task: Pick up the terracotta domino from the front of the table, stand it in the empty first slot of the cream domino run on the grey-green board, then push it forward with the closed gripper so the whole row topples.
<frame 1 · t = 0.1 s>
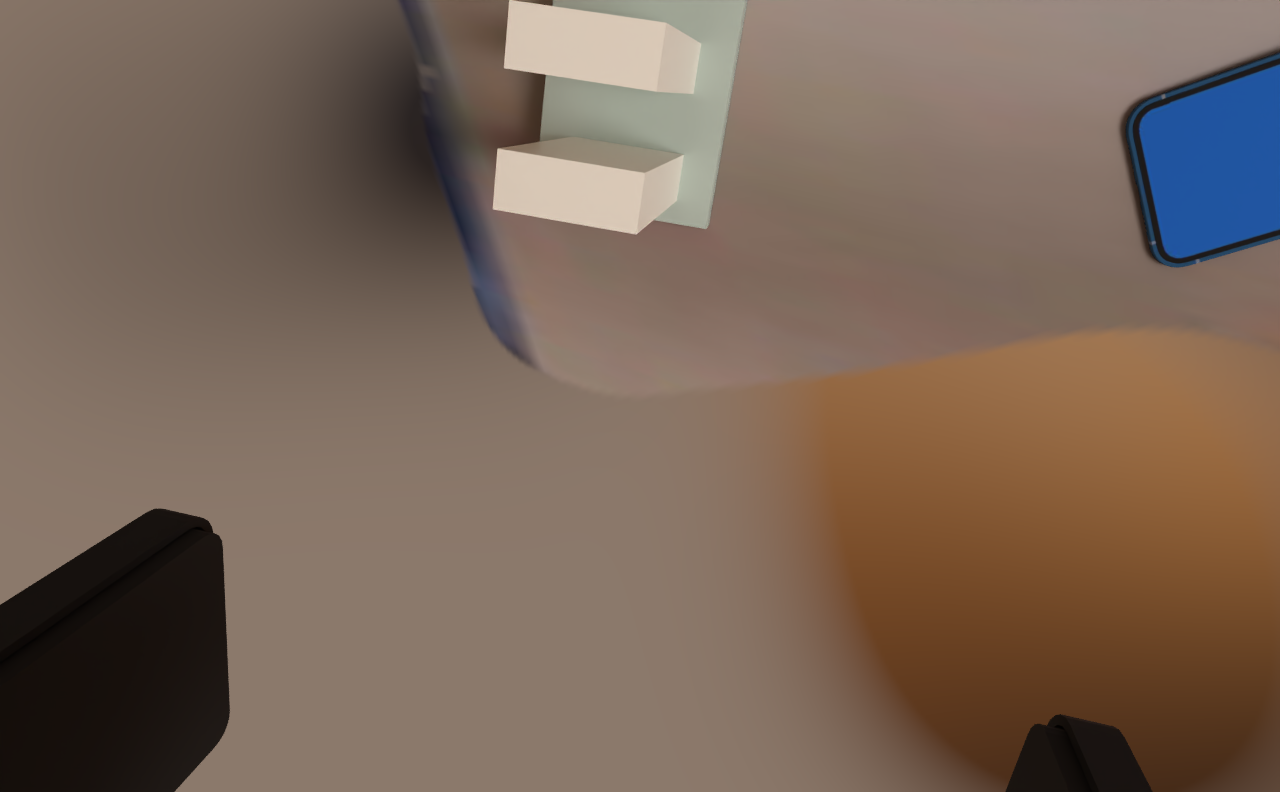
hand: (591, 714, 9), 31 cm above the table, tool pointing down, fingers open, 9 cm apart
domino 4: (639, 60, 35), point 1 cm above the table, touching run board
domino 5: (625, 168, 37), point 1 cm above the table, touching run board
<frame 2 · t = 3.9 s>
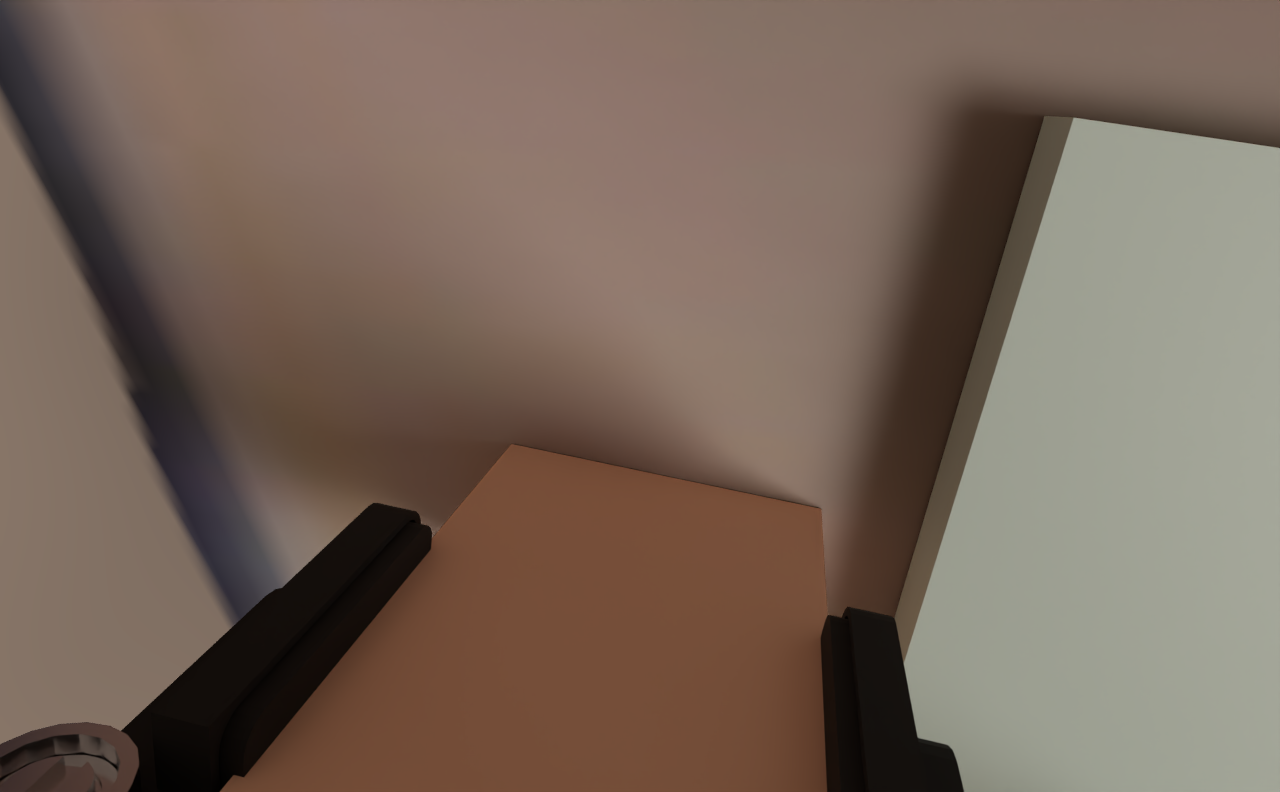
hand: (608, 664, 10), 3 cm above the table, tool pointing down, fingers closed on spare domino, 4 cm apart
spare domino: (653, 530, 14), on the table, touching gripper
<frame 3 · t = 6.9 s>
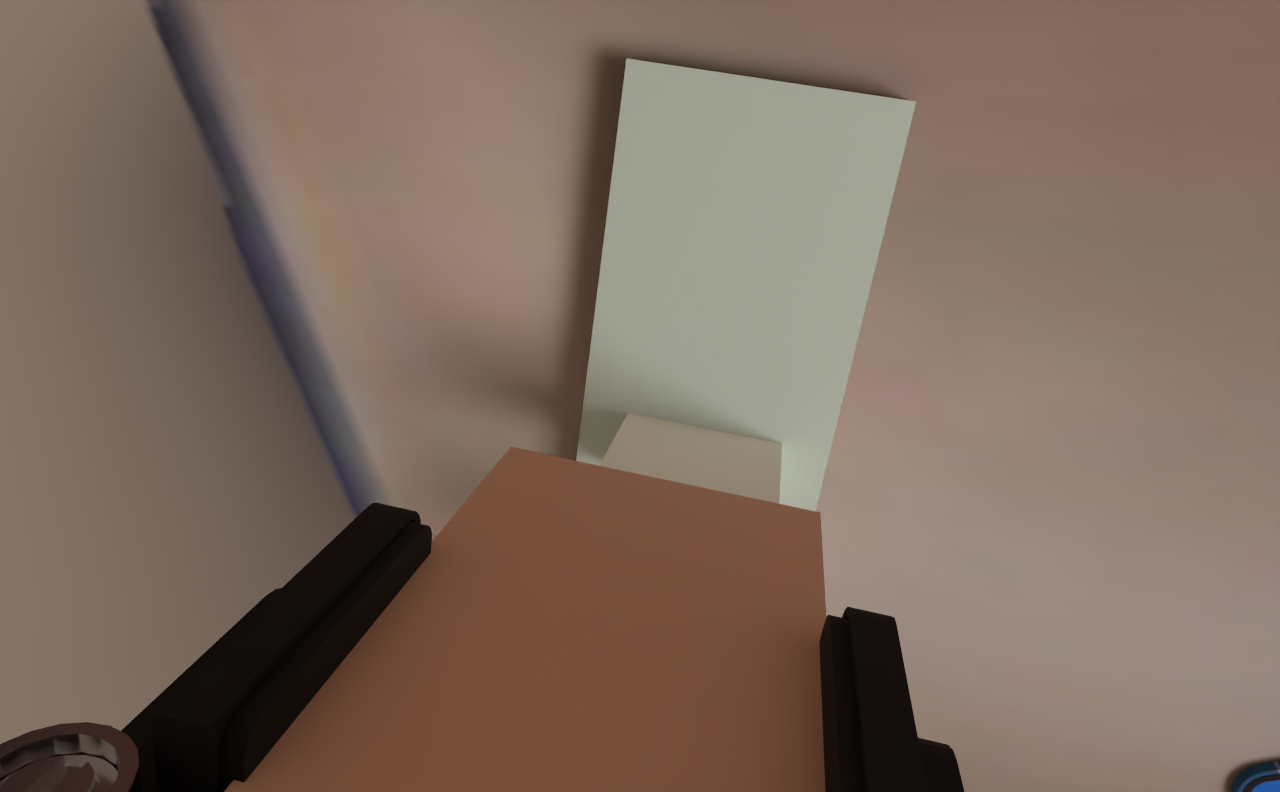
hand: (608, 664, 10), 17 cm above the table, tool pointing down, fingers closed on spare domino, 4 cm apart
domino 2: (699, 456, 27), point 1 cm above the table, touching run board
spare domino: (652, 533, 14), point 14 cm above the table, touching gripper
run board: (693, 494, 29), on the table
when the fingers open (6 cm above the table, at t = 9.8 s): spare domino drops 1 cm, resting on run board.
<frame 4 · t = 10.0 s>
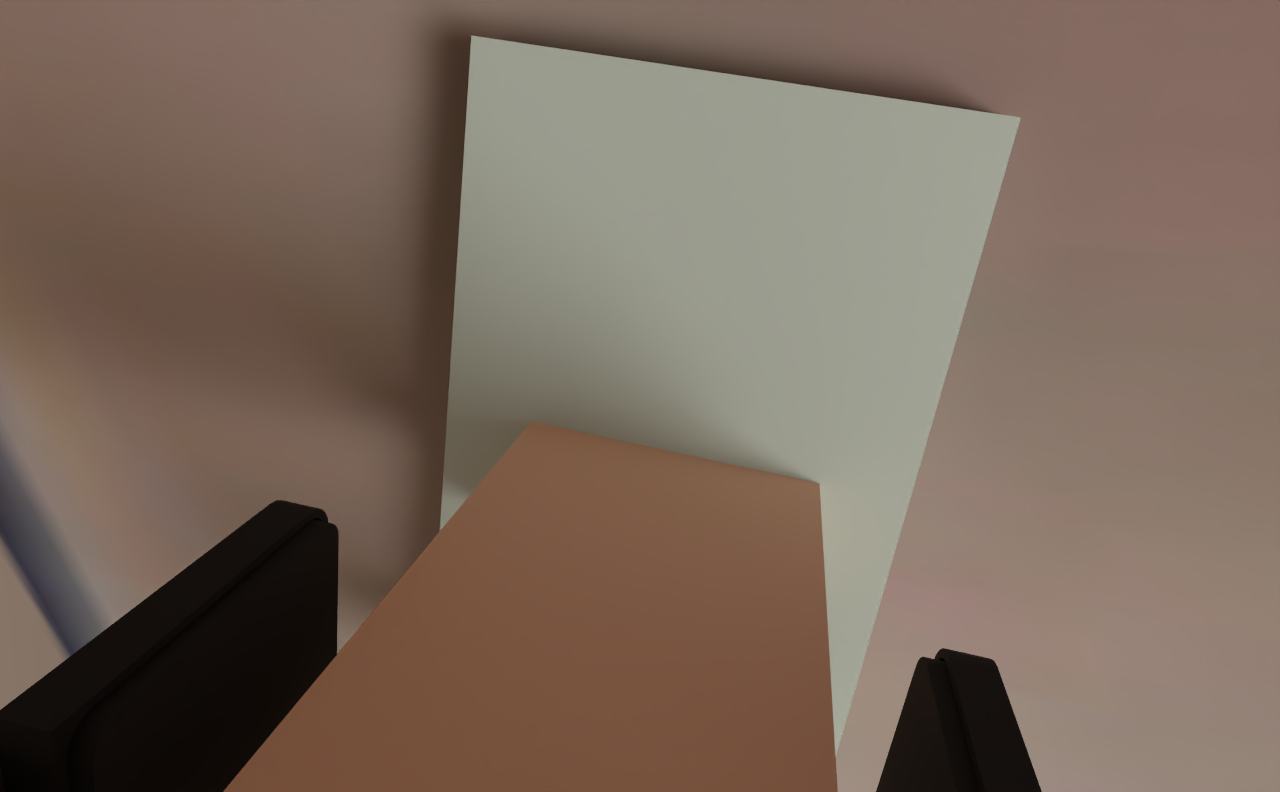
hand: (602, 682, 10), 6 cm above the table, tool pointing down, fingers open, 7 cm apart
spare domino: (663, 503, 14), point 1 cm above the table, touching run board
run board: (625, 743, 18), on the table
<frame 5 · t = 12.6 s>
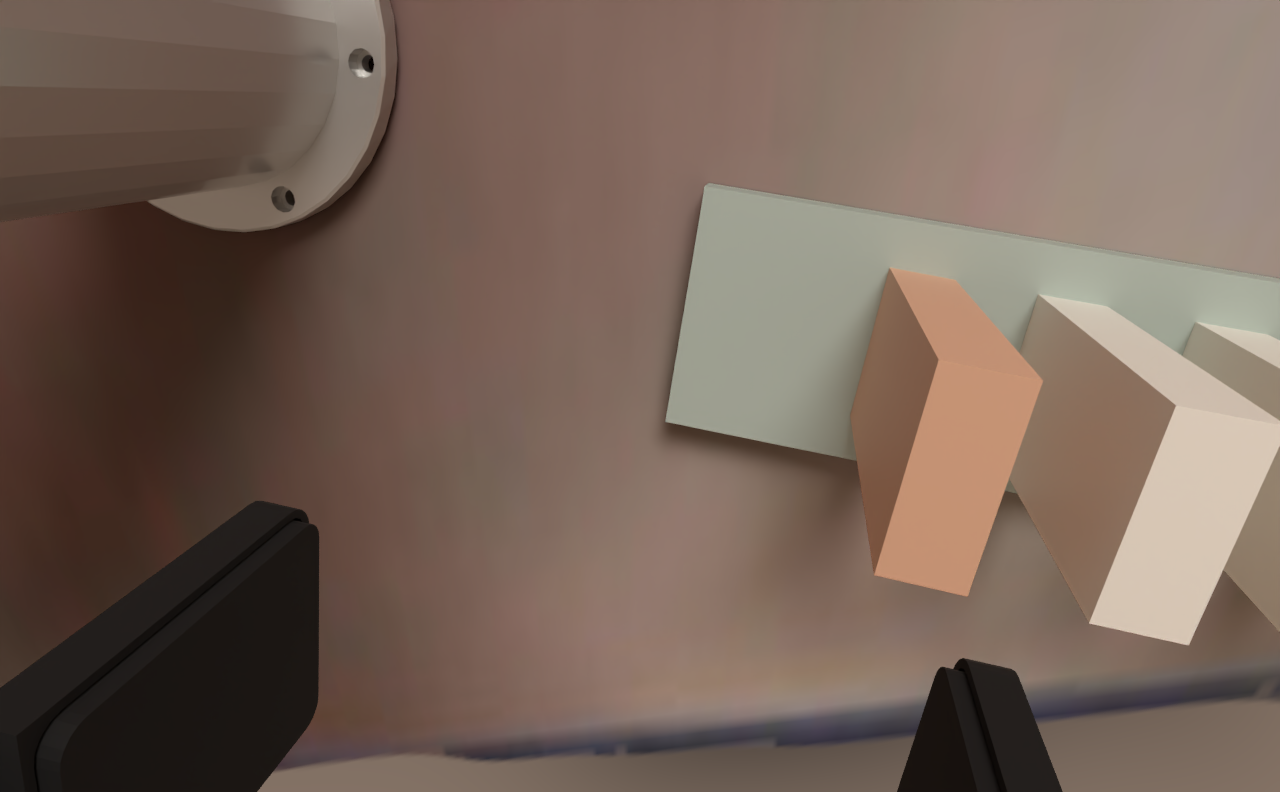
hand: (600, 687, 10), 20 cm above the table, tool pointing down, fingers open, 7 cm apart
domino 3: (1199, 406, 25), point 1 cm above the table, touching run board
domino 2: (1046, 377, 26), point 1 cm above the table, touching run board
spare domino: (900, 350, 26), point 1 cm above the table, touching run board
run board: (1100, 378, 27), on the table
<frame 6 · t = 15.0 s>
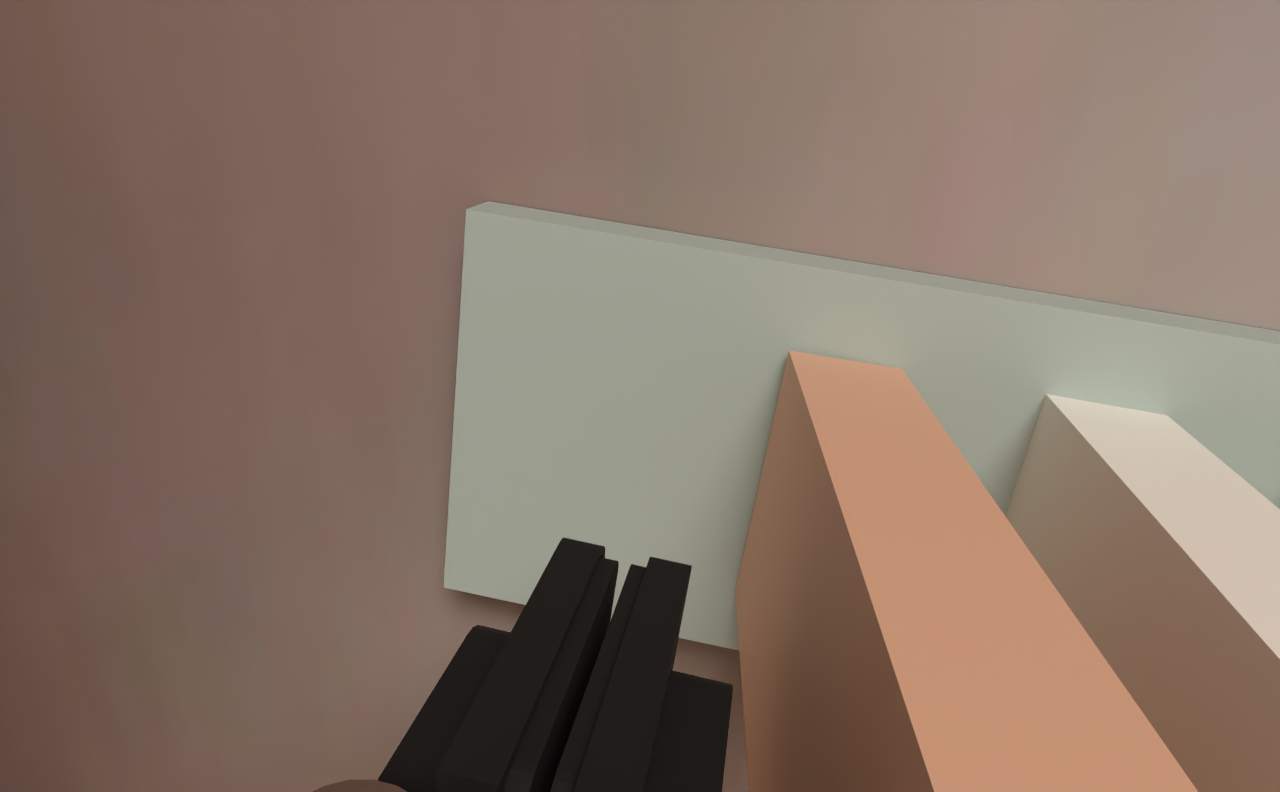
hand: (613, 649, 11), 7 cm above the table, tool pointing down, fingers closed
domino 2: (1059, 531, 15), point 1 cm above the table, touching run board
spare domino: (813, 485, 15), point 1 cm above the table, tilted 5°, touching gripper, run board
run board: (1147, 521, 16), on the table
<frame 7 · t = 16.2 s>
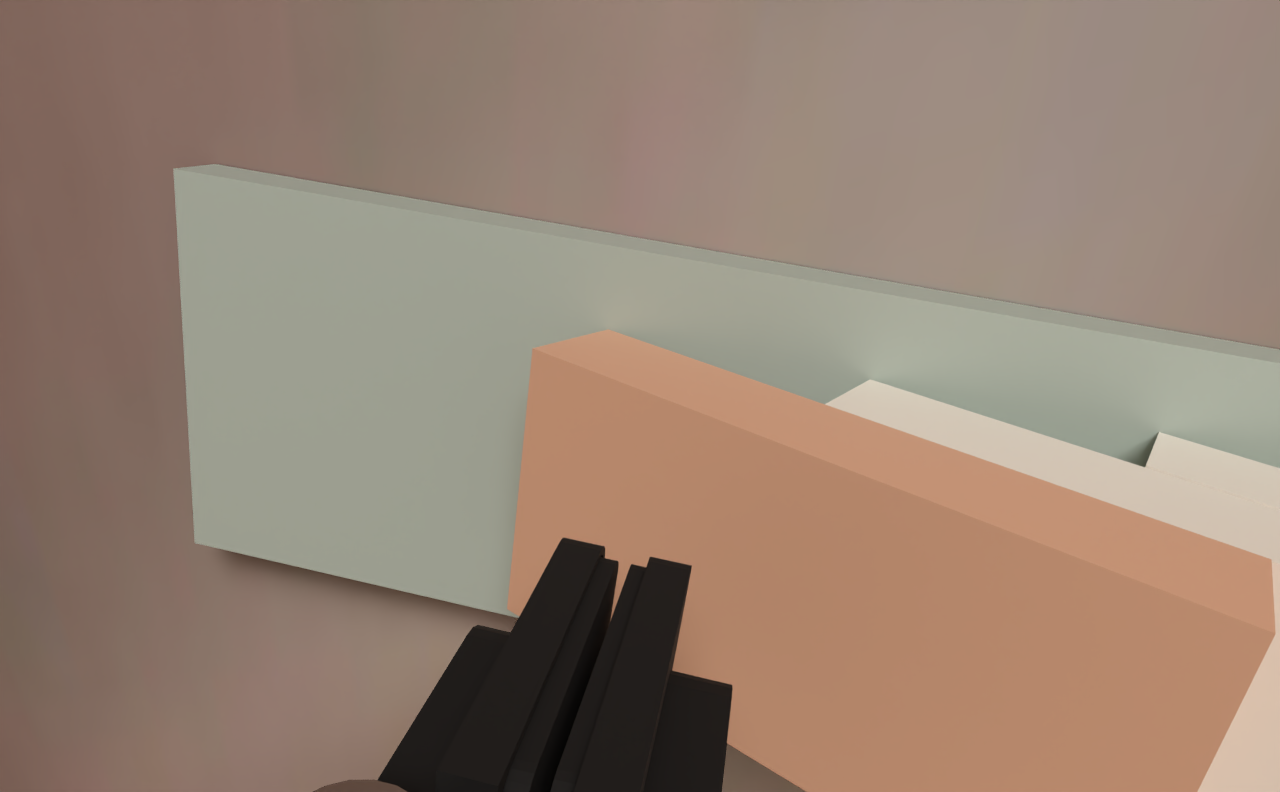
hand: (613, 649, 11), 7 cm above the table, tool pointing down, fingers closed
domino 3: (1099, 582, 14), point 2 cm above the table, tilted 64°, touching domino 2, domino 4, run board
domino 2: (815, 524, 14), point 2 cm above the table, tilted 64°, touching domino 3, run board, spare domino
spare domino: (557, 470, 15), point 2 cm above the table, tilted 64°, touching domino 2, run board
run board: (854, 482, 16), on the table
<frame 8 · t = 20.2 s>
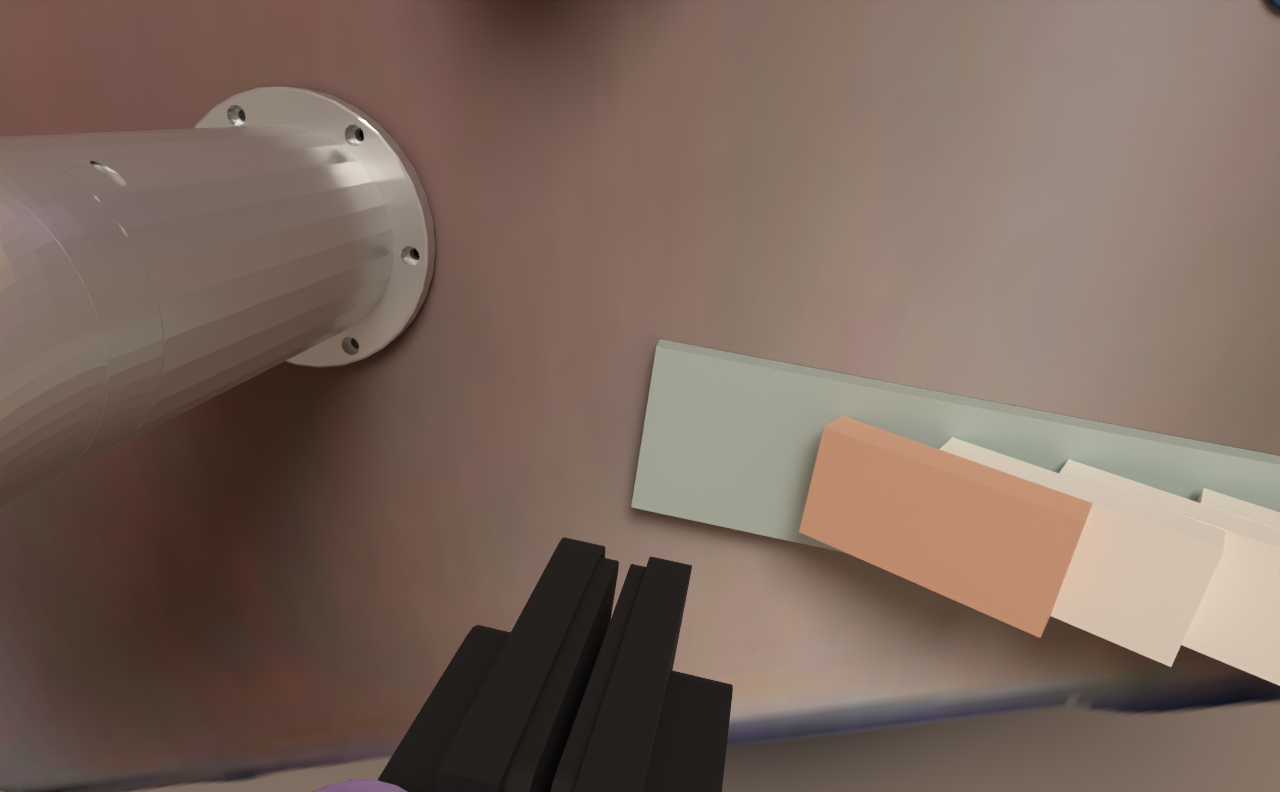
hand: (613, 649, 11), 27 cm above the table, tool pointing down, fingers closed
domino 3: (1045, 519, 35), point 2 cm above the table, tilted 64°, touching domino 2, domino 4, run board
domino 2: (930, 496, 35), point 2 cm above the table, tilted 64°, touching domino 3, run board, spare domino
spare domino: (820, 473, 36), point 2 cm above the table, tilted 64°, touching domino 2, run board
domino 4: (1179, 549, 34), point 2 cm above the table, tilted 64°, touching domino 3, domino 5
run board: (941, 479, 37), on the table
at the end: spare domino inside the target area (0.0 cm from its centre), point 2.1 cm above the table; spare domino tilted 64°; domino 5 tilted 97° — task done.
